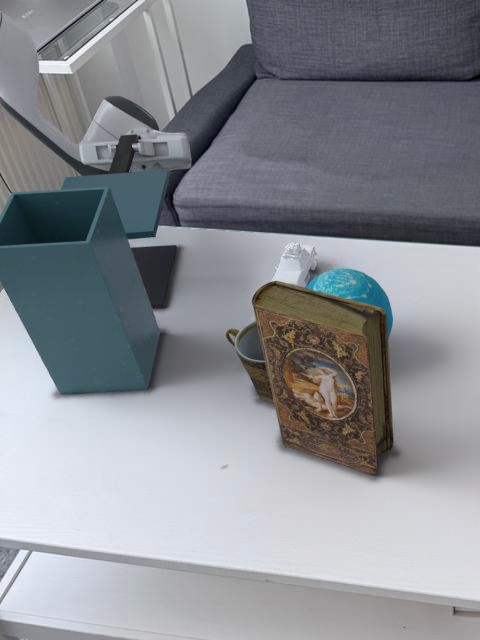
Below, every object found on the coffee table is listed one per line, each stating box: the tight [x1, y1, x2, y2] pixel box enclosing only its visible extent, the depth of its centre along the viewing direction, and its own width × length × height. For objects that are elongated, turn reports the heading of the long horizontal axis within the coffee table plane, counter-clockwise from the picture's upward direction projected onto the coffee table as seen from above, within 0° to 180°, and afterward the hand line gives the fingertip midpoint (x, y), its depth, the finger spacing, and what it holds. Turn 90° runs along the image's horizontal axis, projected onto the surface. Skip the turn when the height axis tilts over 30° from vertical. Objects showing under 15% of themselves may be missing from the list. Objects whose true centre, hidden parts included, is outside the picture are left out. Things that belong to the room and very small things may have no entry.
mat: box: [131, 244, 178, 309], centre depth 136 cm, size 18×13×1 cm
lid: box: [60, 134, 171, 240], centre depth 128 cm, size 31×18×1 cm, turn 2°
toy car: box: [270, 241, 318, 288], centre depth 131 cm, size 6×12×7 cm, turn 167°
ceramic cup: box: [225, 320, 274, 405], centre depth 113 cm, size 13×10×10 cm
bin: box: [0, 187, 161, 395], centre depth 112 cm, size 14×14×26 cm
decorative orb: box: [305, 267, 394, 341], centre depth 115 cm, size 15×15×15 cm
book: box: [251, 281, 395, 476], centre depth 99 cm, size 16×6×25 cm, turn 65°
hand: (124, 149), depth 134 cm, fingers closed on lid, 3 cm apart
